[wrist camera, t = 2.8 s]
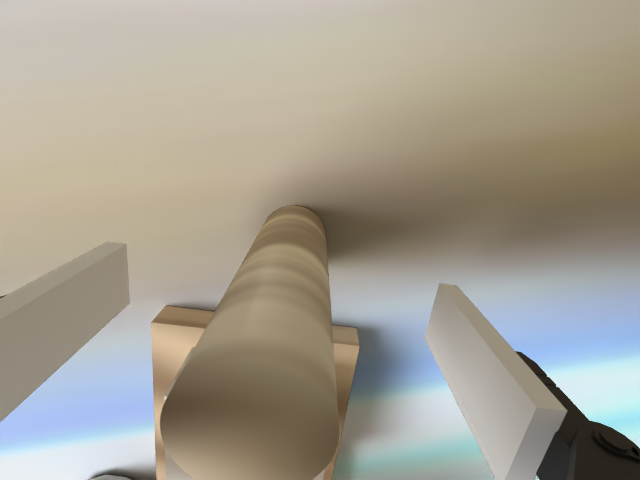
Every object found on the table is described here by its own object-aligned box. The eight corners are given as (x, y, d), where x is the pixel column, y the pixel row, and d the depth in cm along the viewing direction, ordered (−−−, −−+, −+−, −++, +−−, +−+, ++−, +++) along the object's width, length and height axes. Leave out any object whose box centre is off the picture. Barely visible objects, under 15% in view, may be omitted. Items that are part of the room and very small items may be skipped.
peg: (264, 201, 20) (157, 349, 7) (330, 210, 20) (353, 371, 7) (259, 262, 21) (161, 488, 8) (321, 269, 21) (325, 502, 8)
